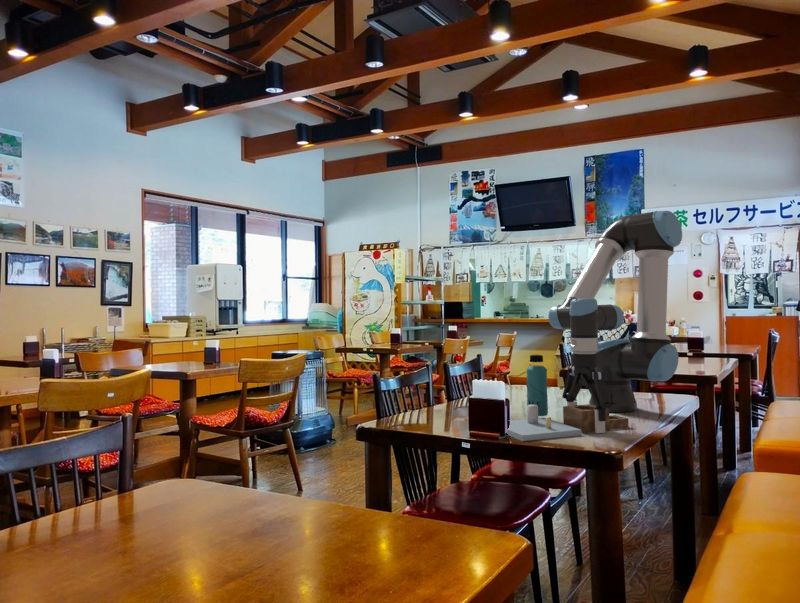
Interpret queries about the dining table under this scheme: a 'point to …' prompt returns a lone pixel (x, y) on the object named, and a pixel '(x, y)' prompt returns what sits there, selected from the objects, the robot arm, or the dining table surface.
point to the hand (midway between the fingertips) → (586, 428)
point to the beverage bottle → (537, 385)
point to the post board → (539, 427)
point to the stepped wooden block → (590, 418)
